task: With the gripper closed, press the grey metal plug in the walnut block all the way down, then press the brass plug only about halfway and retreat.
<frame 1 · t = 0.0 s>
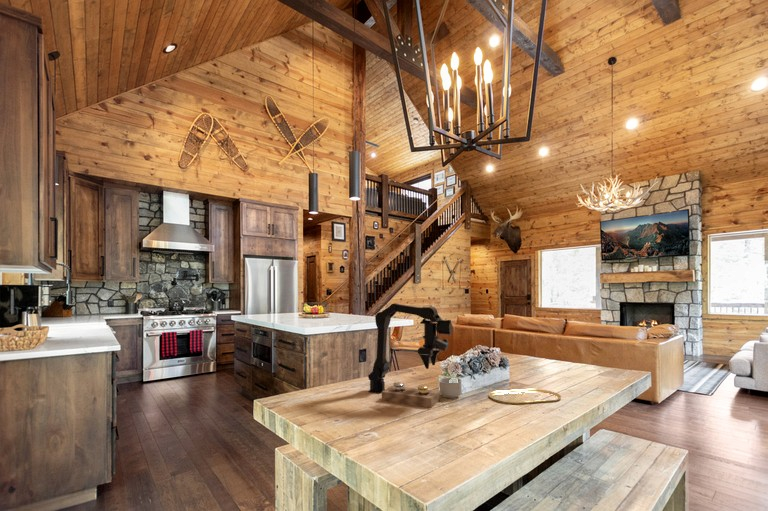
hand: (430, 366, 182), 15 cm above the table, fingers open, 9 cm apart
brass plug: (422, 390, 175), point 5 cm above the table, slide at 0.0 cm
gold ring: (524, 399, 183), on the table
teacup: (449, 396, 186), on the table
walnut block: (410, 400, 178), on the table
grey plug: (398, 387, 181), point 5 cm above the table, slide at 0.0 cm
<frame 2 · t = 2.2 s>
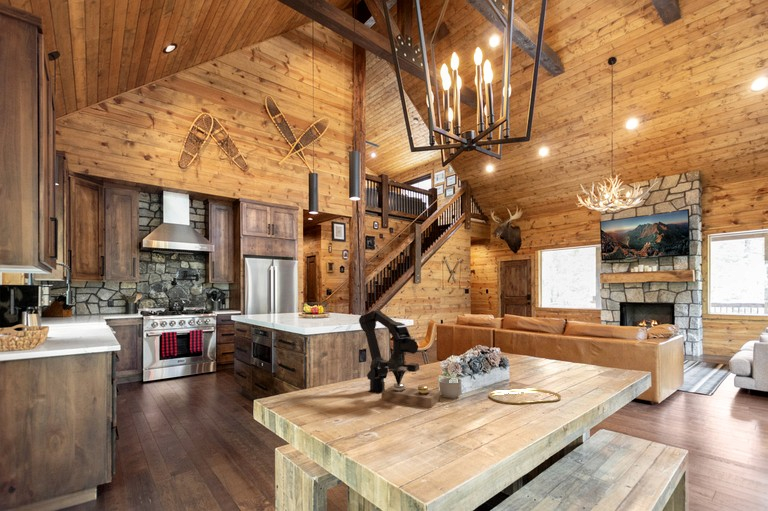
hand: (398, 384, 181), 7 cm above the table, fingers closed, pressing on grey plug
grey plug: (398, 388, 181), point 5 cm above the table, slide at 0.4 cm, touching gripper
everything else where it was.
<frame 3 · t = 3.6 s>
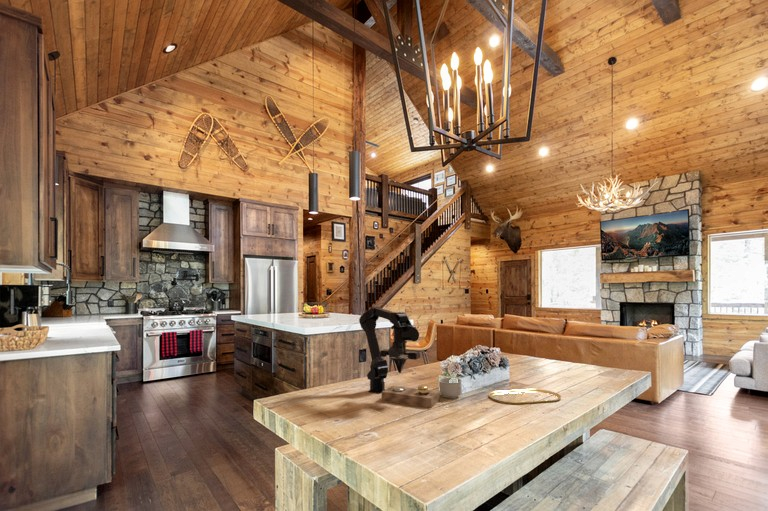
hand: (399, 372, 181), 12 cm above the table, fingers closed
grey plug: (398, 392, 180), point 3 cm above the table, slide at 2.4 cm
everything else where it was.
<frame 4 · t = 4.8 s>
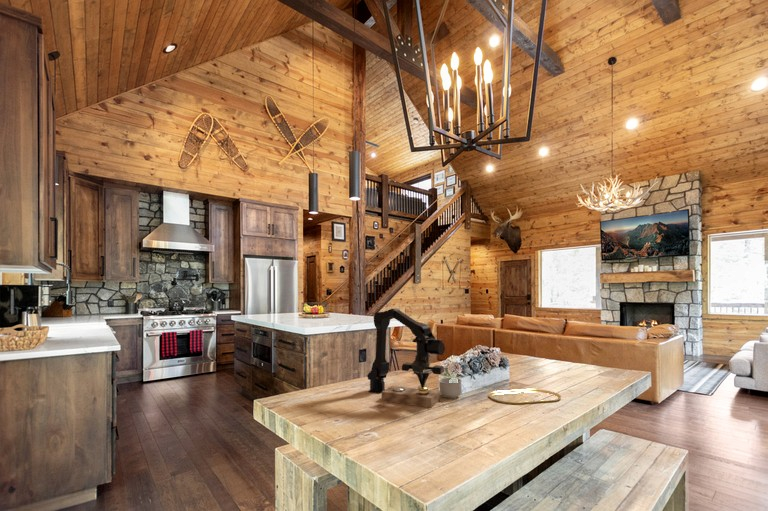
hand: (422, 387, 176), 7 cm above the table, fingers closed, pressing on brass plug
brass plug: (422, 391, 175), point 5 cm above the table, slide at 0.4 cm, touching gripper
everything else where it was.
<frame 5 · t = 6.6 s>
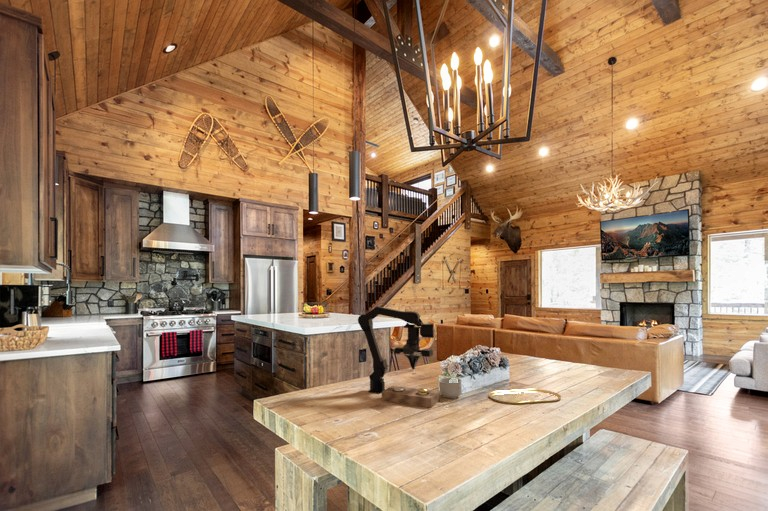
hand: (413, 369, 189), 12 cm above the table, fingers closed
brass plug: (422, 393, 175), point 4 cm above the table, slide at 1.2 cm
everything else where it was.
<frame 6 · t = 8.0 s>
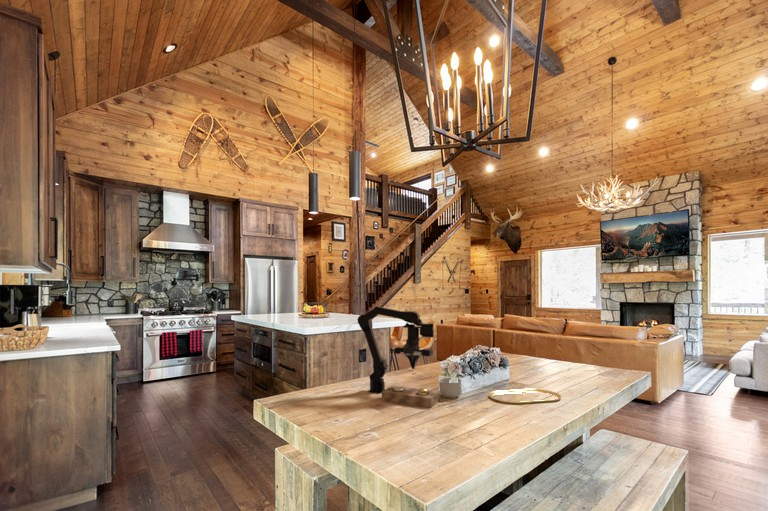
hand: (413, 368, 190), 12 cm above the table, fingers closed
nothing on the table moved.
at the end: grey plug slide at 2.4 cm; brass plug slide at 1.2 cm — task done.
